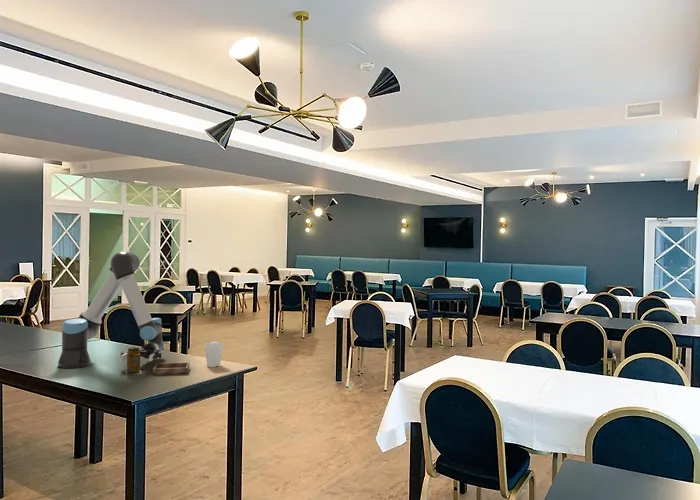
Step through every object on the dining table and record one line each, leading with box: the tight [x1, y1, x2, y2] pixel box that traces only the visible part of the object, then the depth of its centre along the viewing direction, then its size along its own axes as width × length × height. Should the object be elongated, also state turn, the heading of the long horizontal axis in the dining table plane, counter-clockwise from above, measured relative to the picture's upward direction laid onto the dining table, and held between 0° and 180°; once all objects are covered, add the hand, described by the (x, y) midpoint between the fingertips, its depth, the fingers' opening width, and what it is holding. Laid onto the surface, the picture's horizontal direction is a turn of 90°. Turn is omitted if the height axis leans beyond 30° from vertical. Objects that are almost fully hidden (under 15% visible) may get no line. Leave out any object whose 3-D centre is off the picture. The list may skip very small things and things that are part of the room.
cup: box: [204, 341, 224, 368], centre depth 289 cm, size 9×9×12 cm
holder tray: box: [152, 362, 190, 376], centre depth 274 cm, size 16×13×3 cm
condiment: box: [124, 347, 143, 376], centre depth 270 cm, size 7×8×12 cm
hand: (135, 358), depth 271 cm, fingers open, 13 cm apart
